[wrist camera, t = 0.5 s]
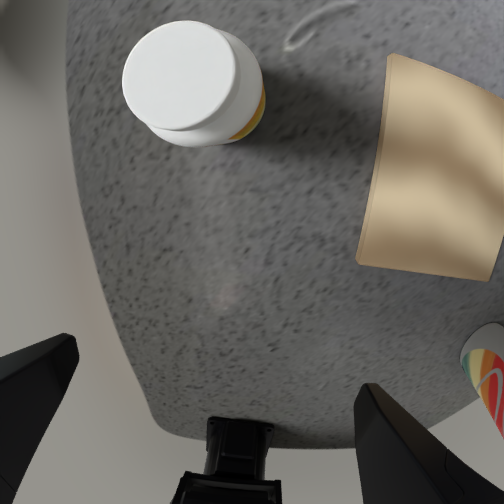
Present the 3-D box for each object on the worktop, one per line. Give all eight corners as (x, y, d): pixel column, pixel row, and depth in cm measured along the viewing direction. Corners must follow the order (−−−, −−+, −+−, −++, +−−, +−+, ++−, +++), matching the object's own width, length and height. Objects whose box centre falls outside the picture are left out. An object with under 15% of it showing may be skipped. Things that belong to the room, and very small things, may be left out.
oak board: (482, 276, 21) (488, 281, 20) (355, 258, 21) (358, 264, 20) (516, 111, 16) (524, 111, 15) (387, 56, 16) (392, 52, 15)
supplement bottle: (251, 51, 16) (233, -18, 7) (276, 130, 18) (280, 122, 9) (170, 78, 17) (91, 41, 8) (193, 154, 19) (126, 173, 10)
